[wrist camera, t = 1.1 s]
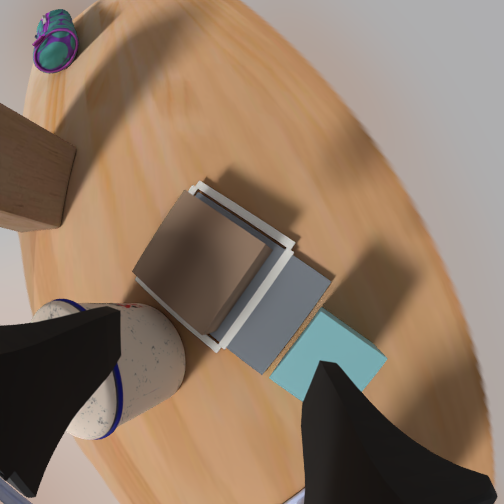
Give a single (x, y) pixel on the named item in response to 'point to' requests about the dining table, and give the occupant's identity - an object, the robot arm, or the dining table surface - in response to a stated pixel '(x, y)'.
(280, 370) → the teal cube
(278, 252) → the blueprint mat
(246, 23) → the dining table surface
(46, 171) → the wooden block
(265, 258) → the walnut base
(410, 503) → the robot arm
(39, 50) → the pencil case
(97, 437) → the teacup with lid
